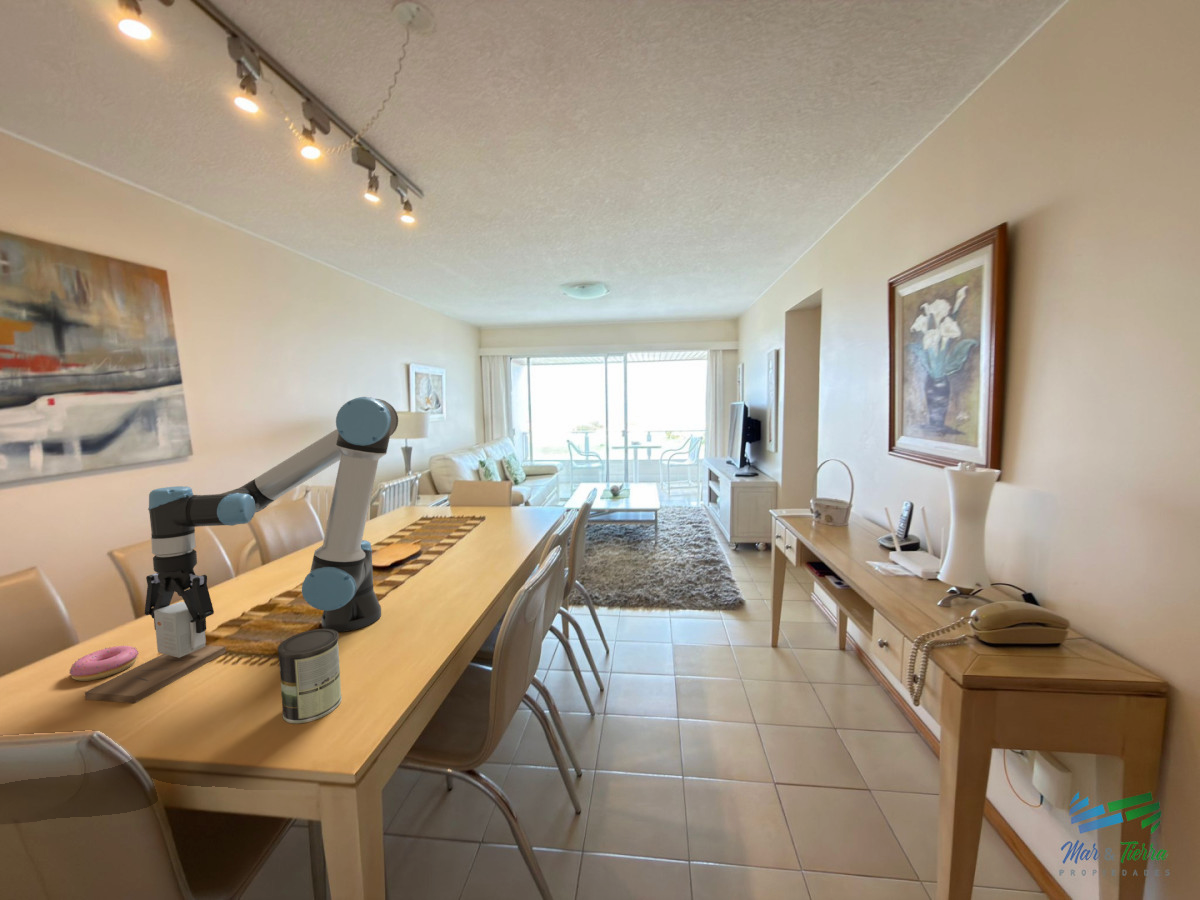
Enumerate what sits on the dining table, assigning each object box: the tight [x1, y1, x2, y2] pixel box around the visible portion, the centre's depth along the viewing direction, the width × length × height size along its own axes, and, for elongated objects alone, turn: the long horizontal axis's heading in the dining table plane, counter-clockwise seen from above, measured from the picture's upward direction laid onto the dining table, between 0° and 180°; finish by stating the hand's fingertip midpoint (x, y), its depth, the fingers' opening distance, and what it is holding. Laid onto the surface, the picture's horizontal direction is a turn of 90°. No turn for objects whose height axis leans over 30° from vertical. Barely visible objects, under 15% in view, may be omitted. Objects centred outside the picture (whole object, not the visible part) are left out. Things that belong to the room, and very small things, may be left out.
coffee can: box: [277, 628, 343, 725], centre depth 91 cm, size 10×10×14 cm
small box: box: [154, 601, 206, 658], centre depth 108 cm, size 8×6×10 cm
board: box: [84, 644, 227, 704], centre depth 104 cm, size 12×20×2 cm, turn 173°
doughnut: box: [69, 644, 139, 682], centre depth 106 cm, size 11×11×4 cm
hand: (181, 643), depth 108 cm, fingers closed on small box, 9 cm apart
